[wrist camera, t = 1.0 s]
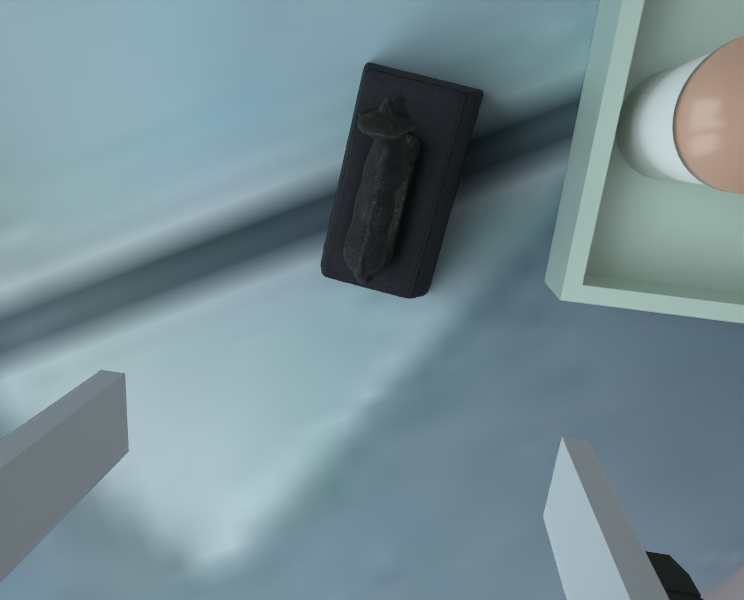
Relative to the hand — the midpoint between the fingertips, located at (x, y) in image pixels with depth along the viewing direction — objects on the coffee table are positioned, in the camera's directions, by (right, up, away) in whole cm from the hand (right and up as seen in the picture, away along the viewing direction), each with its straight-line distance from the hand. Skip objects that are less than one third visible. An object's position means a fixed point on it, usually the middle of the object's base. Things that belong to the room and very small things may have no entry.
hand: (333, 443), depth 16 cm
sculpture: (+3, +12, +18) cm, 22 cm away
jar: (+18, +14, +14) cm, 27 cm away
